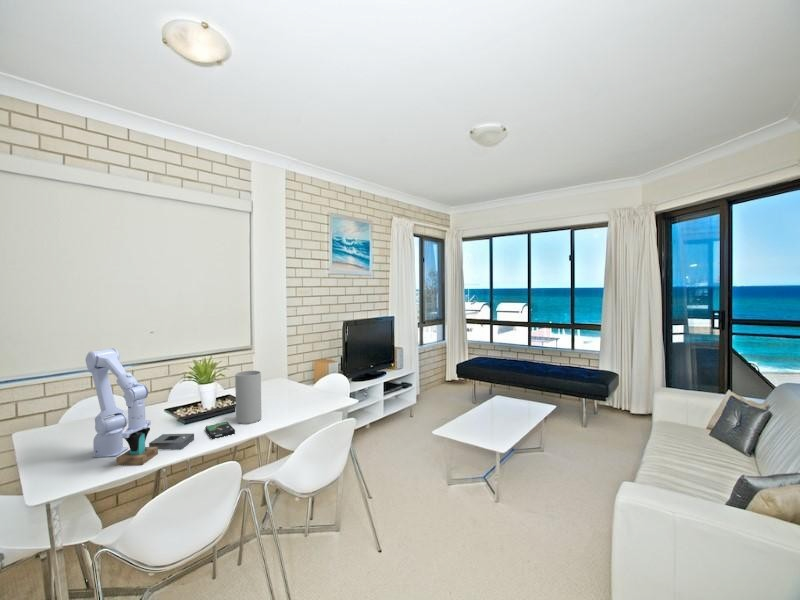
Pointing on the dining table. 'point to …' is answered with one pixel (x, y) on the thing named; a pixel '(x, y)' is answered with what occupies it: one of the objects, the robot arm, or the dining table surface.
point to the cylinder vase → (248, 396)
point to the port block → (172, 441)
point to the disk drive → (220, 430)
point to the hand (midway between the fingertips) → (137, 448)
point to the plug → (139, 445)
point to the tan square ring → (137, 457)
